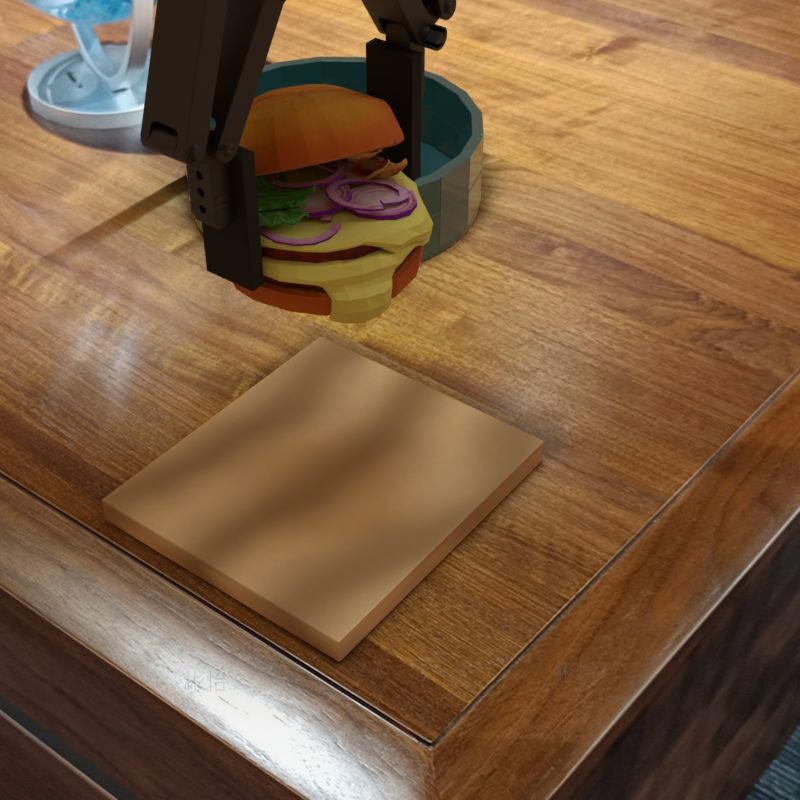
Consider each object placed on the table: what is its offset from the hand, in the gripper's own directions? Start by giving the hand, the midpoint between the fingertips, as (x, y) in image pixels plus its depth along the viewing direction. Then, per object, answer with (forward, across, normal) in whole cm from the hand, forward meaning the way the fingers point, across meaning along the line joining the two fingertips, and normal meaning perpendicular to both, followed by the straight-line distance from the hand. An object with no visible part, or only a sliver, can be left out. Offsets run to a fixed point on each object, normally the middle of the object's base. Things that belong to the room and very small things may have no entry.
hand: (319, 221), depth 63 cm
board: (+17, 0, 0) cm, 17 cm away
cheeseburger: (+2, 0, 0) cm, 2 cm away
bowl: (+17, +24, +19) cm, 35 cm away
